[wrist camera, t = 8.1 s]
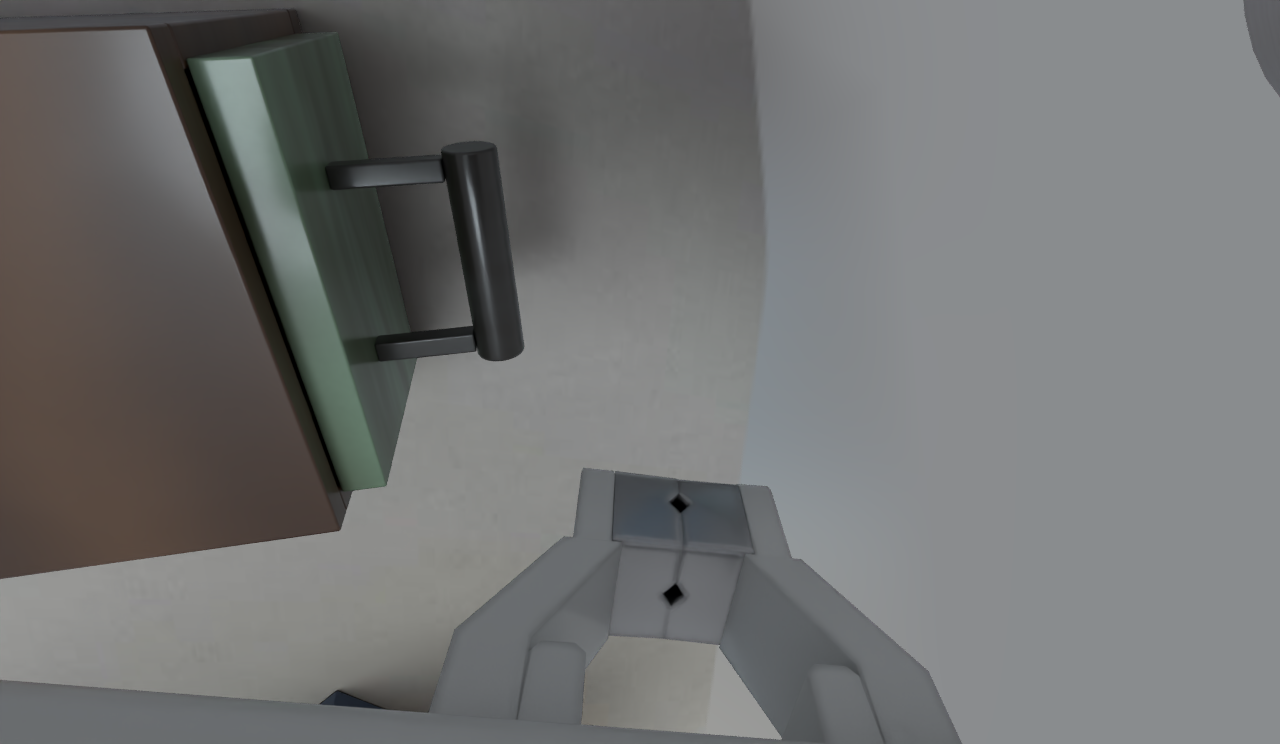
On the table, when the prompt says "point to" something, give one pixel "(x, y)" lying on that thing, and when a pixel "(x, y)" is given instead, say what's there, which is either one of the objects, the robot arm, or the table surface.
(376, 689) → the table surface
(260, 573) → the table surface
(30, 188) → the cabinet
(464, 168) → the drawer
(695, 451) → the table surface
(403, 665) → the table surface
